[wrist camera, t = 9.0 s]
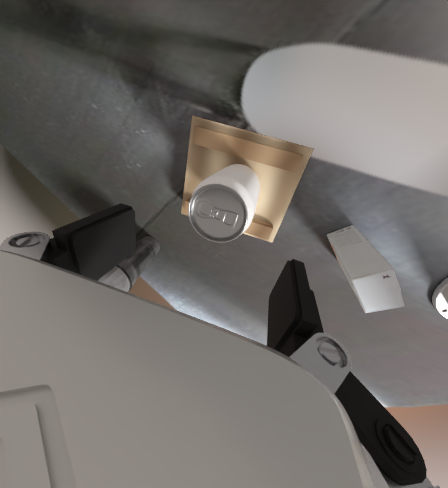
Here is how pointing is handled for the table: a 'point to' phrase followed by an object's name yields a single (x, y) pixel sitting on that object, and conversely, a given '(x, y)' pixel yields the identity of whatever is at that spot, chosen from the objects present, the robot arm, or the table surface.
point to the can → (224, 203)
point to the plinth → (254, 156)
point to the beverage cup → (132, 265)
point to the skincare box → (366, 270)
